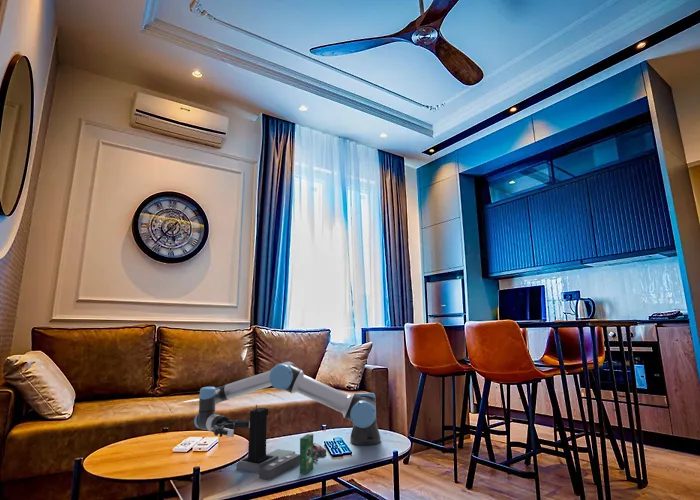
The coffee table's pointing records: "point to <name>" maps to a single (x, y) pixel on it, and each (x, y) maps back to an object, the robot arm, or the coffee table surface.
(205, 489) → the coffee table surface
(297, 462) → the charging dock
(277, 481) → the coffee table surface
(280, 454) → the rubber mat
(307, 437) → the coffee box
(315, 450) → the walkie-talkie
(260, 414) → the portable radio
